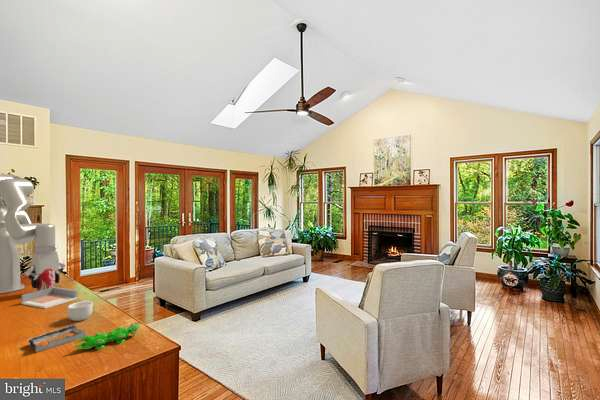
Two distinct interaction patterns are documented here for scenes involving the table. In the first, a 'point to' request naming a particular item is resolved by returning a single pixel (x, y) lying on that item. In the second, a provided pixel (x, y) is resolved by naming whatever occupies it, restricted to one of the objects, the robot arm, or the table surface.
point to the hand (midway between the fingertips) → (46, 285)
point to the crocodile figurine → (106, 337)
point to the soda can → (46, 279)
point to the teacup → (80, 310)
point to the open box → (49, 297)
